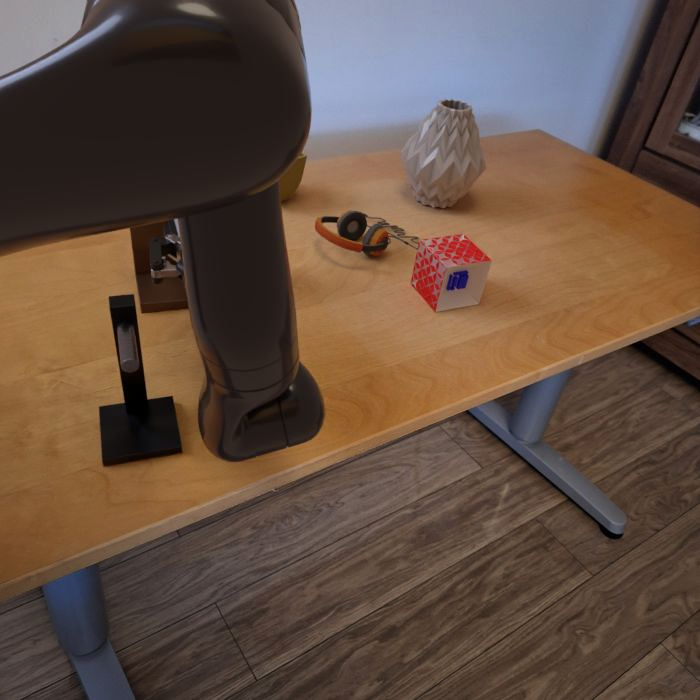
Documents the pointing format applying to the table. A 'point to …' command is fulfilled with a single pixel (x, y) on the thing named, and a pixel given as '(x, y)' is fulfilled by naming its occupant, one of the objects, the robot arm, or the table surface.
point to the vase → (444, 155)
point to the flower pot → (292, 178)
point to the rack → (150, 293)
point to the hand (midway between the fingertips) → (201, 224)
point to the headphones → (358, 233)
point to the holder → (135, 400)
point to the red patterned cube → (450, 272)
